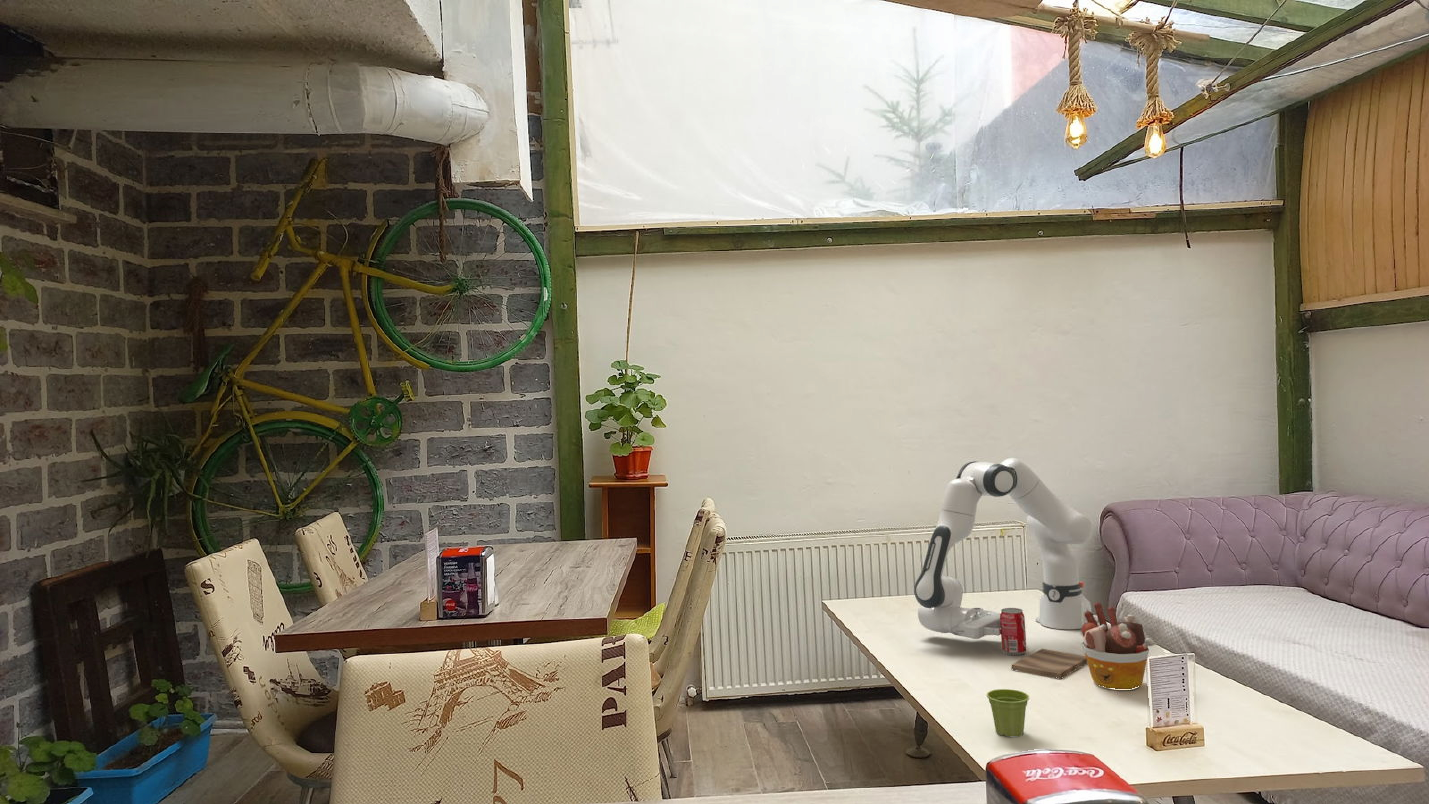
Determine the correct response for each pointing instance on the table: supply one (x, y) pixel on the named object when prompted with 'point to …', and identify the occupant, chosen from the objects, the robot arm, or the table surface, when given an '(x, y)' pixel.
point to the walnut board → (1050, 663)
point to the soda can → (1013, 631)
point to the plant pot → (1008, 710)
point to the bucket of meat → (1115, 650)
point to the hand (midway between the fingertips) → (1007, 629)
